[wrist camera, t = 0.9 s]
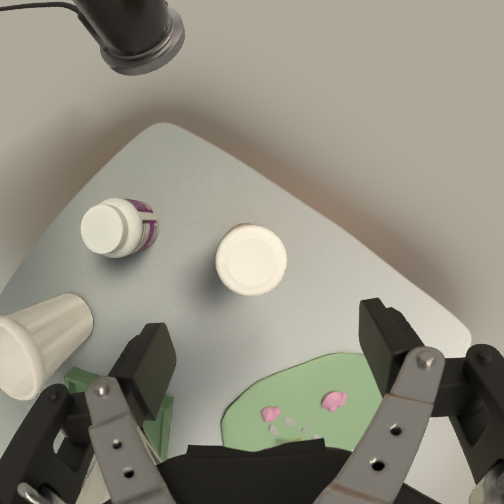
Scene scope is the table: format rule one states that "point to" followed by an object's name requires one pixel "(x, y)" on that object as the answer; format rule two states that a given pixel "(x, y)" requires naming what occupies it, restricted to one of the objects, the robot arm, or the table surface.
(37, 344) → the cup
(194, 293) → the table surface
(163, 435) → the green tray
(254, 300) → the table surface
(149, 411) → the robot arm
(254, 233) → the sprinkles bottle
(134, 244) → the pill bottle
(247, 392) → the plant
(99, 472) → the container
